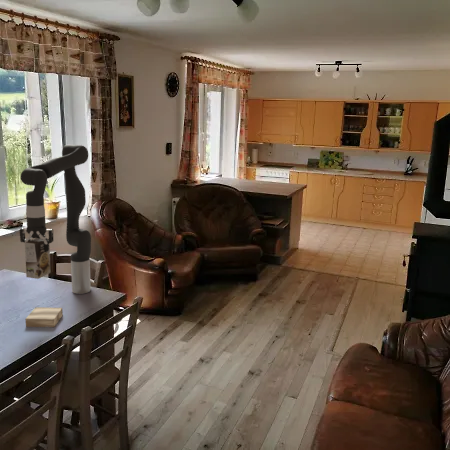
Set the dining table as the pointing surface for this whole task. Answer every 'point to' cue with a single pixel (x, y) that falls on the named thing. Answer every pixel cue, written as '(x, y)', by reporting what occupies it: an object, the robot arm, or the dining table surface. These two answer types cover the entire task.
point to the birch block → (44, 317)
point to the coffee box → (36, 259)
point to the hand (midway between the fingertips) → (37, 251)
